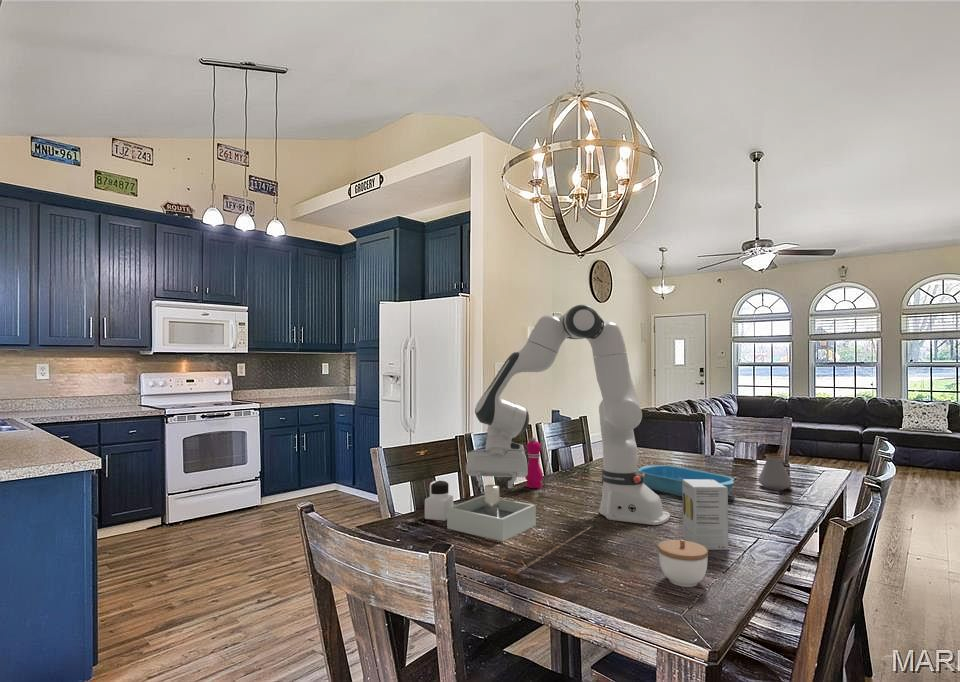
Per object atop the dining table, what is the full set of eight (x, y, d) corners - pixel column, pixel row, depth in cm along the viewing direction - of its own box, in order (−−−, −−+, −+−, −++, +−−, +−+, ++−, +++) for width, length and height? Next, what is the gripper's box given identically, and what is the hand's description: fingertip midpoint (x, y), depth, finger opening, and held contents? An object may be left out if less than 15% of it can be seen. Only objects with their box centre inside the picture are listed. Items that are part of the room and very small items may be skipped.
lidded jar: (657, 570, 128) (657, 531, 129) (705, 575, 125) (704, 534, 126) (659, 588, 118) (658, 545, 119) (711, 594, 115) (710, 550, 115)
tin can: (502, 516, 160) (502, 485, 160) (494, 519, 156) (493, 488, 157) (490, 513, 163) (490, 484, 163) (481, 517, 159) (481, 486, 159)
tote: (536, 528, 161) (535, 505, 161) (503, 545, 146) (502, 519, 147) (482, 517, 173) (482, 495, 173) (447, 531, 158) (447, 508, 158)
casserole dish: (746, 496, 197) (746, 477, 198) (714, 507, 184) (714, 486, 184) (660, 479, 227) (660, 462, 227) (627, 486, 214) (627, 469, 214)
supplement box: (682, 538, 151) (681, 478, 152) (714, 538, 151) (713, 478, 152) (694, 550, 142) (693, 486, 142) (729, 550, 141) (728, 486, 142)
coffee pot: (788, 493, 201) (787, 453, 202) (755, 488, 209) (754, 450, 210) (799, 483, 218) (798, 446, 218) (768, 479, 225) (767, 443, 226)
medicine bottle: (453, 517, 173) (453, 480, 173) (445, 523, 166) (445, 485, 166) (433, 515, 175) (433, 478, 175) (424, 521, 168) (424, 483, 169)
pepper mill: (542, 489, 209) (541, 438, 210) (524, 488, 210) (523, 438, 211) (543, 485, 216) (543, 436, 217) (526, 484, 217) (525, 435, 218)
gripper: (466, 444, 178) (461, 480, 168) (527, 445, 175) (526, 482, 165) (468, 455, 182) (464, 491, 172) (528, 456, 179) (527, 492, 169)
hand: (495, 486), depth 169 cm, fingers open, 8 cm apart
